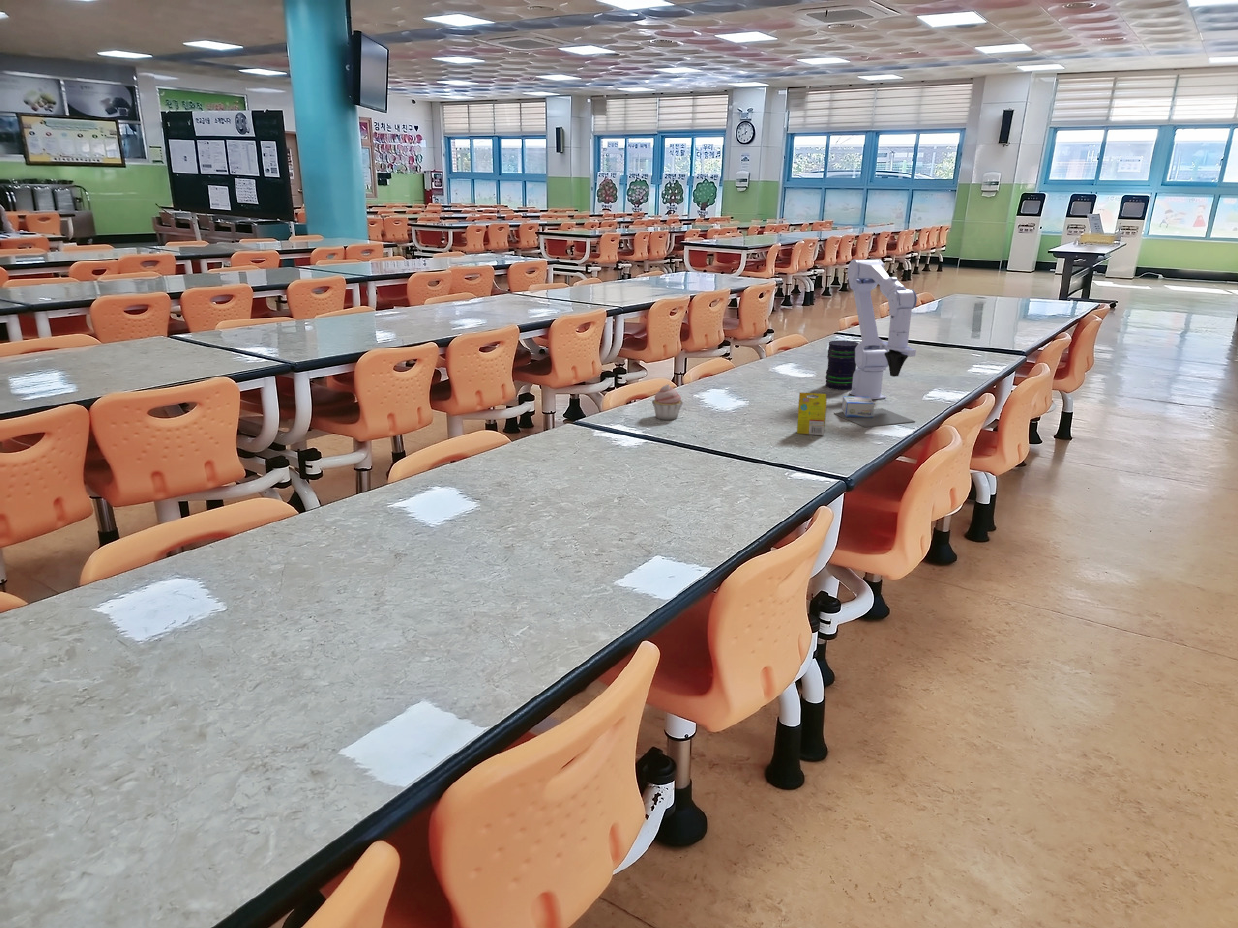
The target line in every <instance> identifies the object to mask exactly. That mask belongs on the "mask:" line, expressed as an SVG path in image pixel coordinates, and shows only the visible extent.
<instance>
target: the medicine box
mask: <svg viewBox="0 0 1238 928" xmlns="http://www.w3.org/2000/svg"><path fill="white" fill-rule="evenodd" d="M874 409H875V403H874V401H873V399H870V397H859V396H854V395H852V396H851V395H848V396H847V395H843V396H842V404H841V412H843V413H844V414H845V416H846V417H869V418H873V414H874Z"/></svg>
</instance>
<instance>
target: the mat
mask: <svg viewBox="0 0 1238 928" xmlns="http://www.w3.org/2000/svg"><path fill="white" fill-rule="evenodd" d="M833 415H835V416H838V417H840V418H843V419H845V420H847V421H848V422H851V423H853V424H856V425H857V426H860V427H863V428H871V427H874V428H875V427H883V426H891V425H893V426H894V425H902V424H908V423H909V424H911V423H916V420H913V419H910V418H908V417H905V416H903V415H901V414H898V413H895V412H893V411H891V410H888V409H885V408H882V407H881V408H880V407H879V408H874V414H873V418H869V417H846V416H845V414H844V413H843V411H841V412H839V411H837V412H833Z"/></svg>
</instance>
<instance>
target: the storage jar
mask: <svg viewBox="0 0 1238 928" xmlns="http://www.w3.org/2000/svg"><path fill="white" fill-rule="evenodd" d="M859 343H860V342H857V341H855V340H853V341H852V340H841V339H840V340H838V339H837V340H831V341H828V349H827V356H826V357H827V368H826V370H825V371H826V372H825V385H824V386H825V388H827V389H830V390H835V391H836V390H837V391H852V382H853V374H854V372H855V370H856V369H857V366H856V363H855V348H856V346H857V345H858V344H859Z"/></svg>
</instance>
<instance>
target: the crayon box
mask: <svg viewBox="0 0 1238 928" xmlns="http://www.w3.org/2000/svg"><path fill="white" fill-rule="evenodd" d="M808 396H814V397H808ZM798 398H799V399H798V408H797V425H796V434H798V435H815V436H824V435H825V431H826V430H825V429H826V417H827V416H826V413H827V393H815V392H799V395H798Z"/></svg>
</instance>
